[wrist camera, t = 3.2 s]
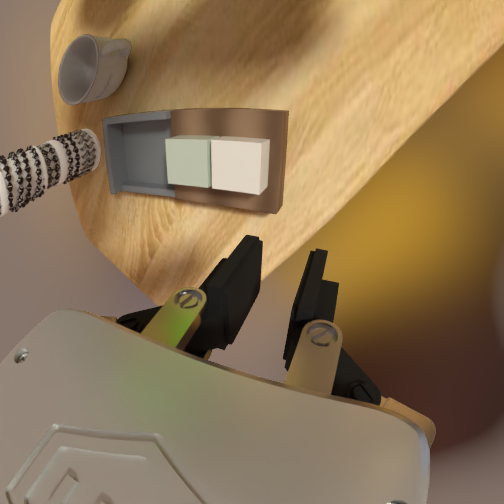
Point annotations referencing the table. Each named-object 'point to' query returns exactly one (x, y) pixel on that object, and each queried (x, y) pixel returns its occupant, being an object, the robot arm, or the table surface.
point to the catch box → (138, 152)
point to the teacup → (92, 68)
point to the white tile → (240, 164)
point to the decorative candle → (46, 167)
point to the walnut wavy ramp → (237, 125)
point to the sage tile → (189, 160)
